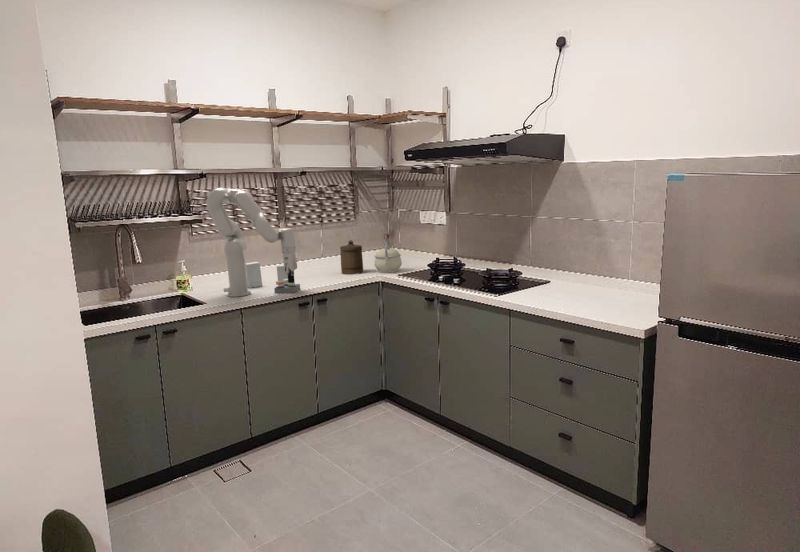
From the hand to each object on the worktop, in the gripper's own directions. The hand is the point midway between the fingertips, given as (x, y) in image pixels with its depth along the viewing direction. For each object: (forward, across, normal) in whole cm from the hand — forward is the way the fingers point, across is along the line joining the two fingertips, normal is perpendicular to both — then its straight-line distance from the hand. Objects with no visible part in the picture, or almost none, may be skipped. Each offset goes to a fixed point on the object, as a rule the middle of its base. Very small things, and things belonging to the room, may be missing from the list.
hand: (291, 282), depth 295 cm
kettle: (+6, +62, -47) cm, 78 cm away
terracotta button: (0, -2, +6) cm, 7 cm away
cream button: (0, +5, +4) cm, 7 cm away
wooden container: (+6, +64, -22) cm, 68 cm away
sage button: (+2, 0, 0) cm, 2 cm away
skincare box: (+5, +20, +30) cm, 37 cm away
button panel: (+5, +2, +3) cm, 6 cm away
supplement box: (+5, +20, +10) cm, 23 cm away
